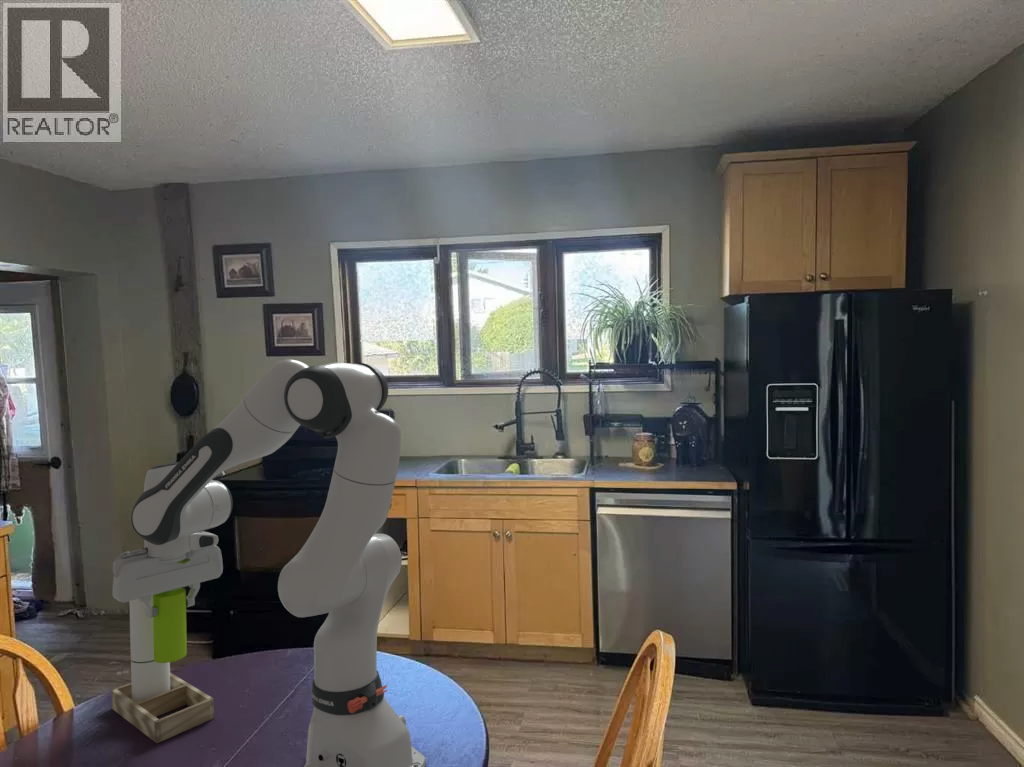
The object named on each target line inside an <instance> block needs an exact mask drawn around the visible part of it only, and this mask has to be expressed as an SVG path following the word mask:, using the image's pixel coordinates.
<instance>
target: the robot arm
mask: <svg viewBox="0 0 1024 767" xmlns="http://www.w3.org/2000/svg"><path fill="white" fill-rule="evenodd" d="M388 396H389V385H388V381H387V379H386V377H385V375H384V373H382V371H381V370H379V369H378V368H376V366H374V365H371V364H369V363H364V362H353V363H352V362H351V363H350V362H339V361H338V362H329V363H324V364H319V365H311V366H310V365H308V364H306V363H305V362H303V361H299V360H296V359H292V358H288V359H281V360H280V361H278V362H276V363H274V364H273V365H272V366H271V367H270V368H268V370H266V372H264V374H262V376H260V378H259V379H258V380H256V382H255V383H254V384H253V386H252V387H251V388H250V389H249V390H248V391H247V393H246V394H245V395H244V397H243V398H242V399H241V400H240V402H239V403H238V404H237V406H236V407H234V409H232V411H231V412H229V414H228V415H226V417H225V418H224V419H223V420H221V422H219V423H218V424H217V425H215V427H213V429H210V431H209V432H208V433H206V434H205V435H204V436H203V437H202V438H200V439H199V440H198V442H196V443H195V444H194V445H193V446H192V447H191V449H189V451H188V452H187V453H186V454H185V455H184V456H183V457H182V458H181V459H180V460H179V461H177V462H172V463H167V464H159V465H156V466H152V467H151V468H149V469H148V470H147V472H146V475H145V478H144V484H143V492H142V493H141V494H140V496H138V498H137V500H136V502H135V503H134V505H133V508H132V511H131V526H132V528H133V530H134V531H135V533H136V534H137V535H138V536H139V537H140V538H142V539H143V540H144V541H143V542H144V545H143V546H144V547H143V548H139V549H134V550H130V551H124V552H121V553H120V555H118V556H117V557H115V558H114V559H113V562H112V574H113V580H112V581H113V582H112V590H111V592H112V593H111V594H112V597H113V599H114V600H117V601H118V602H120V603H122V604H125V603H128V602H129V601H132V600H136V599H139V601H140V602H141V603H142V605H143V606H144V607H145V608H146V616H147V617H148V618H152V617H155V616H157V615H158V613H157V611H158V608H157V607H155V606H151V605H150V603H149V602H148V601H151V595H155V594H159V593H163V592H166V591H170V590H174V589H178V588H186V587H188V588H190V589H189V592H188V594H187V595H186V608H189V607H193V606H195V603H196V601H195V600H196V599H195V598H196V597H197V595H198V593H199V590H200V588H201V583H204V582H207V581H212V580H214V579H218V578H220V577H221V575H222V574H223V570H224V565H223V564H224V563H223V557H222V556H223V555H222V550H221V549H220V547H219V546H218V544H219V536H218V535H216V534H215V533H211V532H208V531H206V530H210V529H214V528H216V527H218V526H220V525H223V524H225V523H226V522H227V521H228V519H229V518H230V516H231V514H232V511H233V504H234V503H233V496H232V494H231V491H230V489H229V487H228V486H227V485H226V484H224V483H223V482H222V481H220V480H216V479H214V478H215V477H216V476H218V475H219V474H221V473H222V472H225V471H226V470H229V469H231V468H234V467H236V466H238V465H241V464H244V463H247V462H249V461H254V460H257V459H261V458H263V457H266V456H269V455H271V454H273V453H275V452H276V451H277V450H279V449H280V448H282V446H283V445H285V444H286V443H287V442H288V441H289V440H290V439H291V438H292V437H293V435H294V434H295V433H296V431H297V430H298V429H299V427H300V426H303V427H305V428H307V429H310V430H312V431H314V432H315V433H316V434H318V435H319V436H320V437H322V438H324V439H332V438H336V441H337V450H336V451H337V452H336V457H335V462H334V466H333V469H332V470H333V471H332V476H331V481H330V483H329V489H328V492H327V497H326V501H325V505H324V507H323V510H322V512H321V515H320V517H319V519H318V521H317V523H316V524H315V526H314V528H313V530H312V532H311V534H310V535H309V537H308V538H307V540H306V542H305V543H304V544H303V546H302V547H301V549H300V550H299V551H298V552H297V554H295V555H294V557H292V558H291V559H290V560H289V561H288V563H286V564H285V565H284V566H283V568H282V569H281V570H280V573H279V576H278V581H277V592H278V597H279V600H280V602H281V604H282V605H283V607H284V608H285V610H287V611H288V612H289V613H290V614H291V615H292V616H295V617H297V618H307V617H314V616H318V615H324V614H328V615H327V617H326V618H325V620H324V622H323V623H322V625H321V626H320V628H319V629H318V630H317V632H316V634H315V637H314V641H313V672H314V673H313V674H314V675H313V676H314V677H313V680H312V682H311V686H312V687H311V692H310V693H311V702H312V705H313V710H312V711H313V712H312V714H311V718H310V721H309V725H308V729H307V730H308V731H307V739H306V740H307V742H306V756H305V764H304V765H303V767H426V763H427V762H426V756H424V755H423V754H422V753H421V752H420V751H418V750H417V749H416V748H415V747H414V746H412V740H411V739H412V738H411V735H410V731H409V729H408V727H407V726H406V725H407V722H406V720H407V719H406V718H405V717H404V715H403V714H399V715H398V714H397V712H396V711H395V710H394V708H393V707H392V706H391V704H390V702H389V701H387V699H386V697H385V693H386V692H388V689H386V688H387V687H388V686H387V684H385V685H383V684H382V679H381V677H380V674H379V673H380V672H379V671H378V670H377V668H378V667H377V664H378V663H377V659H378V658H377V654H378V653H377V650H378V649H377V648H378V647H377V646H378V645H377V644H378V643H377V641H378V640H377V639H378V628H379V624H380V619H381V614H382V612H383V608H384V604H385V601H386V598H387V596H388V592H389V590H390V588H391V586H392V584H393V582H394V581H395V579H396V578H397V577H398V575H399V574H400V571H401V569H402V564H403V558H402V557H403V556H402V553H401V550H400V547H399V545H398V543H397V542H396V540H395V539H394V538H392V536H390V535H388V534H385V533H377V532H378V531H379V529H381V528H382V527H383V526H384V524H385V522H386V520H387V518H388V516H389V511H390V509H391V508H390V507H391V503H392V499H393V494H394V491H395V490H394V489H395V484H396V482H397V481H396V480H397V475H398V472H399V466H400V457H401V444H402V439H401V438H402V431H401V427H400V424H398V422H397V421H396V420H395V419H394V418H392V417H391V416H389V415H388V414H385V413H382V412H379V411H380V410H381V409H382V408H383V407H384V406H385V404H386V402H387V400H388ZM184 559H191V560H190V561H189V562H187V563H185V564H182V563H175V562H179V561H182V560H184Z"/></svg>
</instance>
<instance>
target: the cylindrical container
mask: <svg viewBox="0 0 1024 767" xmlns="http://www.w3.org/2000/svg"><path fill="white" fill-rule="evenodd" d="M148 602H149V603H150V605H151V606H153V595H151V601H148ZM129 638H130V642H129V643H130V644H129V645H130V667H131V668H130V675H131V676H130V677H131V678H130V680H131V682H130V683H131V685H132V700H133V701H134V702H135V703H138V702H140V701H143V700H145V699H148V698H151V697H153V696H156V695H158V694H161V693H164V692H166V691H169V690H170V673H171V662H169V663H157V662H155V661H154V634H153V617H152V618H148V617H147V616H146V608H145V607H144V606H143V605H142V603H141V602H140V601H139V599H136V600H132V601H129Z"/></svg>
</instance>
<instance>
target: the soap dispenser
mask: <svg viewBox="0 0 1024 767" xmlns="http://www.w3.org/2000/svg"><path fill="white" fill-rule="evenodd" d="M190 560H191V559H184V560H182V561H179V562H175V563H182V564H185V563H187V562H189V561H190ZM186 597H187V590H186V588H185V587H181V588H178V589H174V590H170V591H166V592H163V593H159V594H155V595H153V606H155V607H157V608H158V611H157V613H158V615H157V616H155V617H153V634H154V661H155V662H157V663H169V662H170V663H173V662H177V661H179V660H181V659H183V658H185V657H186V656H187V655H188V653H187V652H188V651H187V650H188V648H187V646H188V644H187V642H188V640H187V638H188V637H187V607H186Z"/></svg>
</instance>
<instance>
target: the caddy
mask: <svg viewBox="0 0 1024 767" xmlns="http://www.w3.org/2000/svg"><path fill="white" fill-rule="evenodd" d="M110 692H111V709H112V710H113V711H114V712H116V713H117V714H118V715H120V716H121V717H122V718H123V719H125V720H126V721H127V722H129V723H130V724H131V725H132V726H133V727H135V728H136V729H137V730H139V731H140V732H141V733H142V734H144V735H146V736H147V737H148V738H149V739H150V740H151V741H153V742H155V743H156V744H158V743H161V742H163V741H165V740H167V739H170V738H172V737H174V736H177V735H180V734H181V733H183V732H186V731H188V730H191V729H194V728H195V727H197V726H200V725H202V724H204V723H206V722H209V721H211V720H213V719H215V699H214V698H213V697H212V696H210V695H208V694H206V693H205V692H204V691H201V689H199V688H197V687H195V686H194V685H192V684H190V683H188V682H187V681H185V680H183V679H182V678H181V677H178V676H177V675H175V674H174V673H172V672H170V690H169V691H166V692H164V693H161V694H158V695H156V696H153V697H151V698H148V699H145V700H143V701H140V702H138V703H135V702H134V701H133V700H132V685H131V682H129V683H126V684H124V685H121V686H119V687H118V686H117V687H114V688H112V689H111V691H110ZM183 706H187V707H186V708H183V709H181V710H179V711H176V712H174V713H171V714H169V715H166V716H164V717H161V718H158V717H159V716H161V715H165V713H169V712H171V711H173V710H176V709H179V708H181V707H183Z"/></svg>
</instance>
